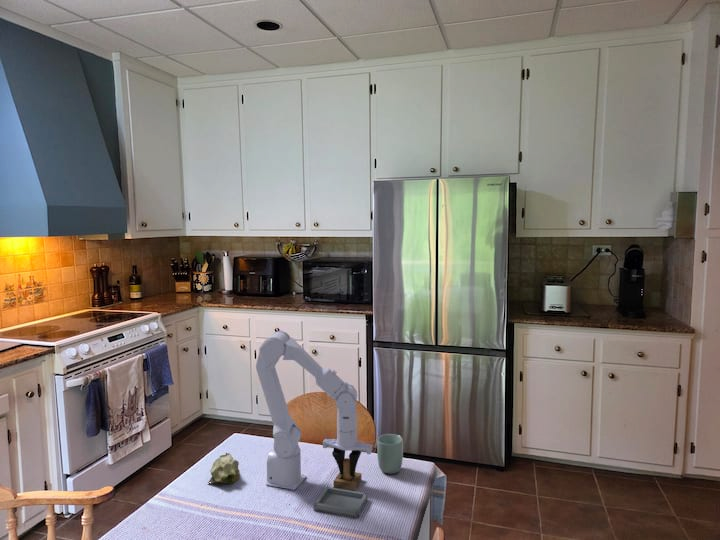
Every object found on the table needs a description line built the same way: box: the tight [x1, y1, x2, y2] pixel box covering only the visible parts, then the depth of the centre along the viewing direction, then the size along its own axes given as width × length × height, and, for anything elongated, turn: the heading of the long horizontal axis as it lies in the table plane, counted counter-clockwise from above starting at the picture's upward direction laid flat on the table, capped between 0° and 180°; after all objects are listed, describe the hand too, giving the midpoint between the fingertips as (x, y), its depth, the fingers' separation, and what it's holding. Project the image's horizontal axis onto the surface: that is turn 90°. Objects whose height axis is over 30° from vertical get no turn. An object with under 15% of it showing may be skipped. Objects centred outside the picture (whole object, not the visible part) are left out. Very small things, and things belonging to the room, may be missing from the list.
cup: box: [376, 433, 404, 475], centre depth 147 cm, size 8×8×10 cm
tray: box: [313, 486, 368, 519], centre depth 129 cm, size 12×9×2 cm
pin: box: [343, 457, 352, 481], centre depth 140 cm, size 3×3×7 cm
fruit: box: [207, 452, 241, 485], centre depth 142 cm, size 9×9×8 cm
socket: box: [332, 471, 362, 491], centre depth 140 cm, size 6×6×2 cm
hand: (347, 473), depth 140 cm, fingers closed on pin, 3 cm apart
